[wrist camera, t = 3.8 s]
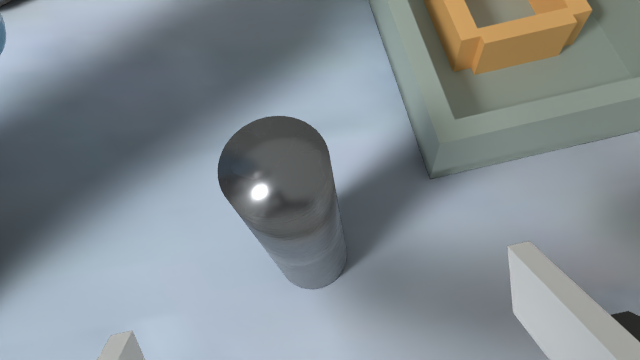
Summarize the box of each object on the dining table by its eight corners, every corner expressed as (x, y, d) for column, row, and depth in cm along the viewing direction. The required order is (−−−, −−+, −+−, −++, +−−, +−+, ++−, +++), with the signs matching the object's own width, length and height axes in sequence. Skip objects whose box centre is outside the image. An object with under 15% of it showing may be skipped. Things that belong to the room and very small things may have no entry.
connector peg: (285, 296, 26) (224, 230, 15) (274, 230, 28) (212, 129, 17) (353, 280, 26) (341, 203, 15) (338, 216, 28) (317, 105, 17)
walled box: (429, 179, 28) (439, 143, 24) (353, -42, 37) (351, -95, 33) (668, 123, 28) (719, 78, 24) (537, -85, 37) (557, -144, 33)
